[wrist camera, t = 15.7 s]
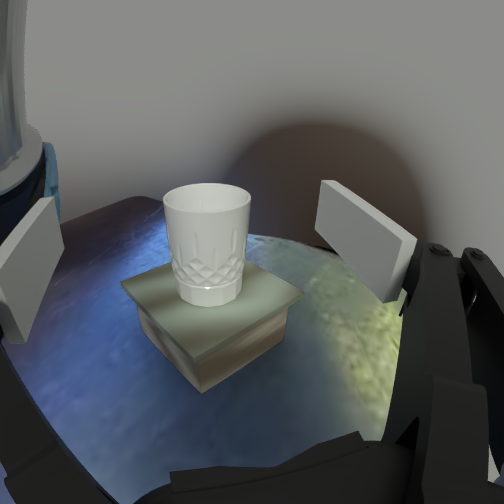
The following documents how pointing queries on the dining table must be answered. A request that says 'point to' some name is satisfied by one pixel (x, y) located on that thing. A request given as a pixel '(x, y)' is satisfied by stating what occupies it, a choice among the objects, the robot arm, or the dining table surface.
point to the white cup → (207, 241)
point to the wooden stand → (212, 322)
